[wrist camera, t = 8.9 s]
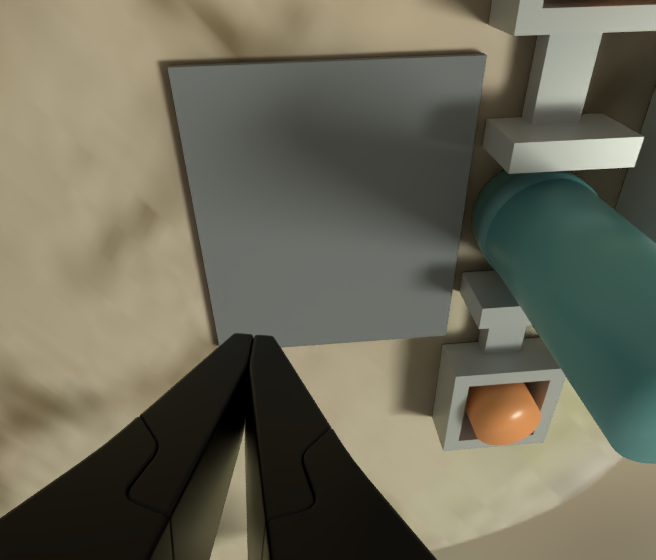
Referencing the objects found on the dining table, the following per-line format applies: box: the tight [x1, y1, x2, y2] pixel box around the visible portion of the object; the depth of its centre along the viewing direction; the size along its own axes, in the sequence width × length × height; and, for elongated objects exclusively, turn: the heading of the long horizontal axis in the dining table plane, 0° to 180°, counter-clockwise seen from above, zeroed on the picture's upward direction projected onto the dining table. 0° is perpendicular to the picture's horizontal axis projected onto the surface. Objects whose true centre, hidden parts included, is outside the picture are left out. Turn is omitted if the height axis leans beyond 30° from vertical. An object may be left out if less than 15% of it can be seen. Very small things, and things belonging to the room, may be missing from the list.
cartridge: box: [471, 170, 656, 464], centre depth 19 cm, size 5×5×12 cm
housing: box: [432, 0, 656, 451], centre depth 22 cm, size 12×28×4 cm, turn 1°
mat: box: [168, 53, 487, 347], centre depth 23 cm, size 12×14×1 cm
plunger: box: [465, 382, 541, 446], centre depth 29 cm, size 4×4×3 cm
